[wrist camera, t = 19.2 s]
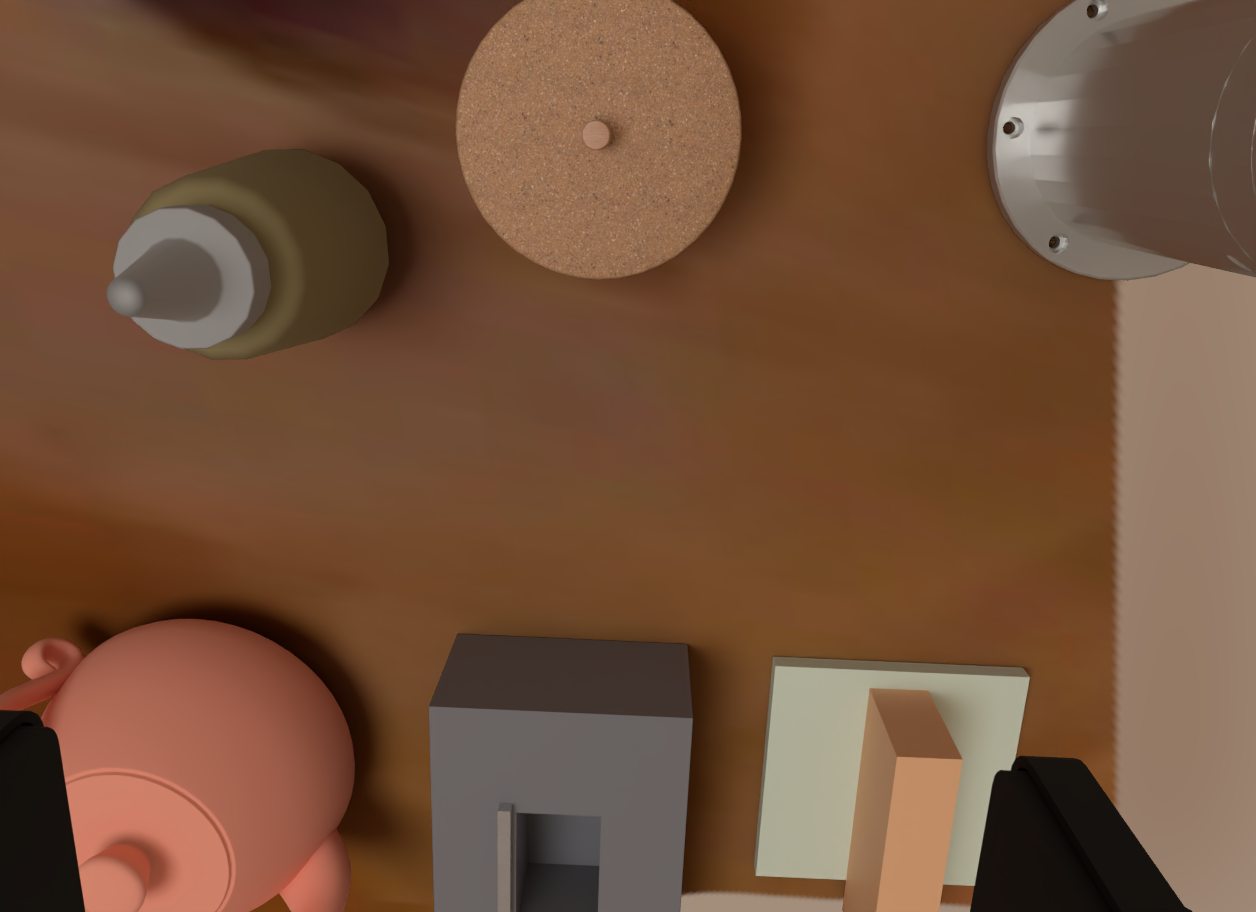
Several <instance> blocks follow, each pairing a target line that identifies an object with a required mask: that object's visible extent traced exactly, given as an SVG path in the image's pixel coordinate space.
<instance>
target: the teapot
mask: <svg viewBox="0 0 1256 912" xmlns="http://www.w3.org/2000/svg"><path fill="white" fill-rule="evenodd" d="M22 669H23V671H24V673H25V674H26V675H27V676H28V677H30V678H31V679H33V680H31V681H28V682H26V683H23V684H21V685H19V686H16V687H14V688H12V689H10V690H8V691H6V692H5V693H3V694H1V695H0V710H15V711H21V710H23V709H25V708H28V707H30V706H32V705H35V704H37V703H39V702H42V701H44V700H46V699H49V698H51V697H53V698H52V699H51V701H50V703H49V704H48V706H47V708H46V709H45V711H44V713H43V715H42V717H41V720H42V721H43V725H44V727H49V728H52V729H53V730H54V731H55V732H56V734H57V736H58V740H59V745H60V751H61V758H62V764H63V771H64V777H65V783H66V790H67V796H68V803H69V809H70V816H71V822H72V828H73V835H74V841H75V848H76V854H77V861H78V867H79V874H80V880H81V886H82V893H83V899H84V906H85V912H249V911H251V910H253V909H255V908H257V907H259V906H260V905H262V904H264V903H265V902H267V901H268V900H270V899H271V898H272V897H274V896H275V895H277V894H278V893H279V894H280V895H281V897H282V898H283V899H284V901H285V902H286V904H287V905H288V907H289V909H290V910H291V912H343V911H344V908H345V905H346V902H347V899H348V894H349V889H350V883H351V864H350V860H349V856H348V853H347V849H346V847H345V845H344V843H343V840H342V838H341V836H340V834H339V832H338V830H337V827H338V825H339V824H340V822H341V820H342V818H343V816H344V814H345V812H346V810H347V807H348V804H349V801H350V799H351V795H352V790H353V785H354V776H355V761H354V752H353V743H352V739H351V735H350V731H349V727H348V725H347V722H346V720H345V717H344V715H343V713H342V710H341V708H340V707H339V705H338V703H337V702H336V700H335V698H334V697H333V695H332V693H331V692H330V691H329V690H328V688H327V687H326V686H325V684H324V683H323V682H322V680H321V679H320V678H319V677H318V676H317V675H316V674H315V673H314V672H313V671H312V670H311V669H310V668H309V667H308V666H307V665H306V664H305V663H303V662H302V661H301V660H300V659H298V658H297V657H296V656H295V655H293V654H292V653H291V652H289V651H288V650H286V649H284V648H283V647H281V646H280V645H278V644H277V643H275V642H273V641H271V640H269V639H267V638H265V637H263V636H261V635H259V634H257V633H255V632H252V631H249V630H247V629H244V628H241V627H238V626H235V625H231V624H227V623H222V622H218V621H211V620H202V619H172V620H164V621H157V622H154V623H150V624H146V625H142V626H138V627H134V628H132V629H129V630H127V631H124V632H122V633H119V634H117V635H115V636H114V637H112V638H110V639H108V640H107V641H105V642H103V643H102V644H100V645H99V646H98V647H96V648H95V649H94V650H93V651H92V652H90V653H89V654H88V655H87V656H86V657H85V658H84V655H83V653H82V651H81V649H80V648H79V647H78V646H76V645H75V644H74V643H72V642H70V641H67V640H65V639H61V638H55V637H50V638H45V639H42V640H40V641H38V642H36V643H35V644H33V645H32V646H31V647H30V648H29V649H28V650H27V651H26V653H25V654H24V656H23V659H22Z"/></svg>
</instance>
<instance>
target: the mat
mask: <svg viewBox="0 0 1256 912" xmlns="http://www.w3.org/2000/svg"><path fill="white" fill-rule="evenodd" d="M1029 679H1030V677H1029V676H1028V674H1027V673H1026V671H1025V670H1024V668H1021V667H999V666H976V665H954V664H931V663H909V662H886V661H863V660H841V659H818V658H796V657H773V663H772V674H771V685H770V695H769V706H768V717H767V728H766V739H765V750H764V761H763V772H762V783H761V793H760V804H759V815H758V826H757V837H756V848H755V859H754V866H755V873H756V876H774V877H796V878H817V879H839V880H846V876H847V868H848V860H849V852H850V844H851V836H852V827H853V819H854V811H855V803H856V795H857V786H858V778H859V770H860V762H861V754H862V746H863V737H864V729H865V721H866V713H867V705H868V697H869V688H879V689H903V690H926V691H928V692H929V694H930V696H931V698H932V700H933V702H934V704H935V706H936V708H937V709H938V711H939V713H940V715H941V717H942V719H943V721H944V723H945V725H946V727H947V729H948V731H949V733H950V735H951V737H952V739H953V741H954V743H955V745H956V747H957V749H958V751H959V753H960V755H961V757H962V759H963V762H962V768H961V774H960V781H959V787H958V793H957V800H956V806H955V812H954V818H953V825H952V831H951V837H950V844H949V850H948V856H947V863H946V869H945V875H944V882H943V884H947V885H969V886H975V881H976V875H977V869H978V863H979V858H980V852H981V846H982V840H983V835H984V829H985V823H986V817H987V812H988V806H989V800H990V794H991V789H992V783H993V779H994V776H995V775H996V773H997V772H998V771H1000V770H1011V767H1012V764H1013V762H1014V761H1015V757H1016V752H1017V746H1018V740H1019V735H1020V729H1021V724H1022V718H1023V713H1024V707H1025V702H1026V696H1027V691H1028V685H1029Z"/></svg>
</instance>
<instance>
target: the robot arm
mask: <svg viewBox="0 0 1256 912" xmlns="http://www.w3.org/2000/svg"><path fill="white" fill-rule="evenodd" d="M1088 6H1091V7H1092V8H1093V9H1094V14H1093V16H1092V17H1091V18H1089V17H1088V16H1087V7H1088ZM1006 122H1009V123H1010V124H1011V127H1012V129H1011V131H1010V132H1009V133H1008V134H1005V133H1004V132H1003V126H1004V124H1005V123H1006ZM987 166H988V171H989V176H990V182H991V187H992V191H993V193H994V196H995V198H996V201H997V203H998V206H999V208H1000V210H1001V213H1002V215H1003V216H1004V218H1005V219H1006V221H1007V222H1008V224H1009V225H1010V227H1011V228H1012V230H1013V231H1014V233H1015V234H1016V236H1018V237H1019V238H1020V239H1021V240H1022V241H1023V242H1024V243H1025V244H1026V245H1027V246H1028V247H1029V248H1030V249H1031V250H1032V251H1033V252H1034V253H1036V254H1037V255H1039V256H1041V257H1042V258H1044V259H1045V260H1047V261H1049V262H1050V263H1052V264H1054V265H1055V266H1057V267H1060V268H1063V269H1066V270H1068V271H1071V272H1073V273H1076V274H1080V275H1084V276H1089V277H1093V278H1097V279H1105V280H1132V279H1140V278H1147V277H1153V276H1157V275H1160V274H1163V273H1166V272H1169V271H1172V270H1175V269H1178V268H1181V267H1183V266H1185V265H1187V264H1189V263H1194V264H1199V265H1203V266H1208V267H1212V268H1216V269H1221V270H1225V271H1230V272H1234V273H1239V274H1244V275H1248V276H1252V277H1256V0H1072V1H1070V2H1069V3H1067V4H1065V5H1064V6H1062V7H1061V8H1060V9H1059V10H1057V11H1056V12H1055V13H1054V14H1053V15H1052V16H1050V17H1049V18H1048V19H1047V20H1046V21H1045V22H1043V23H1042V24H1041V25H1040V26H1039V27H1038V28H1037V29H1036V30H1035V32H1034V33H1033V34H1032V35H1031V36H1030V38H1029V39H1028V40H1027V41H1026V42H1025V44H1024V45H1023V46H1022V47H1021V48H1020V50H1019V51H1018V52H1017V54H1016V56H1015V58H1014V59H1013V61H1012V63H1011V65H1010V66H1009V68H1008V70H1007V71H1006V73H1005V75H1004V77H1003V79H1002V81H1001V84H1000V87H999V89H998V92H997V95H996V97H995V100H994V103H993V106H992V111H991V116H990V121H989V127H988V132H987ZM1053 236H1055V238H1056V243H1055V245H1054V246H1053V247H1049V241H1050V239H1051V237H1053ZM0 912H85V906H84V899H83V893H82V886H81V880H80V874H79V867H78V861H77V854H76V848H75V841H74V835H73V828H72V822H71V816H70V809H69V803H68V796H67V790H66V783H65V777H64V771H63V764H62V758H61V751H60V745H59V740H58V736H57V734H56V732H55V731H54V730H53V729H52V728H49V727H44V725H43V721H42V720H41V718H40V717H39V716H38V714H36V713H33V712H31V711H15V710H0ZM970 912H1192V911H1191V910H1189V909H1187V908H1186V907H1184V906H1183V904H1182V902H1181V901H1180V900H1179V898H1178V897H1177V895H1176V894H1175V892H1174V891H1173V890H1172V888H1171V887H1170V885H1169V884H1168V882H1167V881H1166V880H1165V878H1164V877H1163V875H1162V874H1161V872H1160V871H1159V869H1158V868H1157V867H1156V865H1155V864H1154V862H1153V861H1152V860H1151V858H1150V857H1149V855H1148V854H1147V852H1146V851H1145V849H1144V848H1143V847H1142V845H1141V844H1140V842H1139V841H1138V839H1137V838H1136V837H1135V835H1134V834H1133V832H1132V831H1131V829H1130V828H1129V827H1128V825H1127V824H1126V822H1125V821H1124V819H1123V818H1122V817H1121V815H1120V814H1119V812H1118V811H1117V809H1116V808H1115V806H1114V805H1113V804H1112V802H1111V801H1110V799H1109V798H1108V796H1107V795H1106V794H1105V792H1104V791H1103V789H1102V788H1101V786H1100V785H1099V784H1098V782H1097V781H1096V779H1095V778H1094V776H1093V775H1092V774H1091V772H1090V771H1089V769H1088V768H1087V766H1086V765H1085V764H1084V763H1083V762H1082V761H1081V760H1078V759H1075V758H1057V757H1035V756H1020V757H1018V758H1016V759H1015V761H1014V762H1013V764H1012V767H1011V770H1000V771H998V772H997V773H996V775H995V776H994V779H993V783H992V789H991V794H990V800H989V806H988V812H987V817H986V823H985V829H984V835H983V840H982V846H981V852H980V858H979V863H978V869H977V875H976V881H975V886H974V892H973V898H972V904H971V909H970Z"/></svg>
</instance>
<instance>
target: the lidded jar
mask: <svg viewBox="0 0 1256 912" xmlns="http://www.w3.org/2000/svg"><path fill="white" fill-rule="evenodd" d="M455 135H456V144H457V154H458V159H459V163H460V167H461V170H462V174H463V178H464V181H465V183H466V185H467V188H468V190H469V192H470V195H471V197H472V200H473V201H474V203H475V204H476V206H477V208H478V209H479V211H480V213H481V214H482V216H483V218H484V219H485V220H486V222H487V223H488V224H489V225H490V226H491V228H492V229H493V230H494V231H495V232H496V233H497V235H498V236H499V237H500V238H501V239H502V240H504V241H505V242H506V243H507V244H508V245H509V246H510V247H512V248H513V249H514V250H515V251H516V252H518V253H519V254H521V255H522V256H524V257H526V258H527V259H529V260H530V261H532V262H533V263H535V264H537V265H540V266H542V267H544V268H547V269H549V270H551V271H553V272H556V273H560V274H564V275H568V276H572V277H576V278H585V279H595V280H600V279H618V278H623V277H627V276H632V275H636V274H640V273H643V272H645V271H648V270H650V269H653V268H656V267H658V266H660V265H662V264H664V263H665V262H667V261H669V260H671V259H672V258H674V257H676V256H677V255H679V254H680V253H681V252H683V251H684V250H685V249H686V248H687V247H689V246H690V245H691V244H692V243H694V242H695V241H696V240H697V239H698V238H699V236H700V235H701V234H702V233H703V232H704V231H705V230H706V229H707V228H708V226H709V225H710V224H711V223H712V221H713V220H714V218H715V217H716V215H717V213H718V212H719V210H720V209H721V207H722V206H723V204H724V202H725V199H726V197H727V195H728V193H729V191H730V188H731V186H732V184H733V180H734V177H735V173H736V170H737V166H738V163H739V156H740V148H741V141H742V126H741V110H740V105H739V99H738V93H737V89H736V86H735V83H734V80H733V77H732V74H731V71H730V68H729V66H728V65H727V63H726V61H725V59H724V57H723V55H722V53H721V51H720V49H719V47H718V46H717V44H716V43H715V42H714V40H713V39H712V38H711V36H710V35H709V34H708V32H707V31H706V29H705V28H704V27H703V26H702V25H701V24H700V23H699V22H698V21H697V20H696V19H695V18H694V17H693V16H692V15H691V14H690V13H689V12H688V11H687V10H685V9H684V8H682V7H681V6H679V5H678V4H677V3H675V2H674V1H672V0H523V1H521V2H520V3H518V4H517V5H515V6H514V7H512V8H511V9H510V10H509V11H508V12H507V13H506V14H505V15H504V16H503V17H501V18H500V19H499V20H498V21H497V22H496V23H495V24H494V25H493V27H492V28H491V29H490V31H489V32H488V33H487V34H486V36H485V37H484V38H483V39H482V41H481V42H480V44H479V46H478V47H477V49H476V51H475V53H474V55H473V57H472V58H471V60H470V62H469V64H468V67H467V70H466V73H465V75H464V78H463V81H462V84H461V87H460V92H459V97H458V103H457V108H456V126H455Z"/></svg>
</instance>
